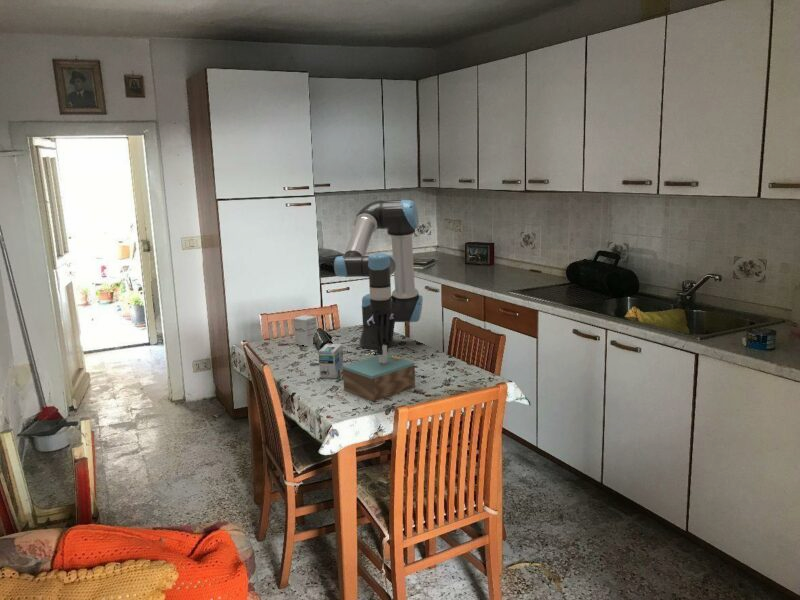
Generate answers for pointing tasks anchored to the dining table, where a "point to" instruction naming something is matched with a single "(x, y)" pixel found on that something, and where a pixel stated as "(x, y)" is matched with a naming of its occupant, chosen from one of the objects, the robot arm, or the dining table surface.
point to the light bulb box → (331, 360)
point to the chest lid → (378, 366)
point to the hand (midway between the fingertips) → (383, 362)
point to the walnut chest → (379, 383)
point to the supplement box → (305, 329)
